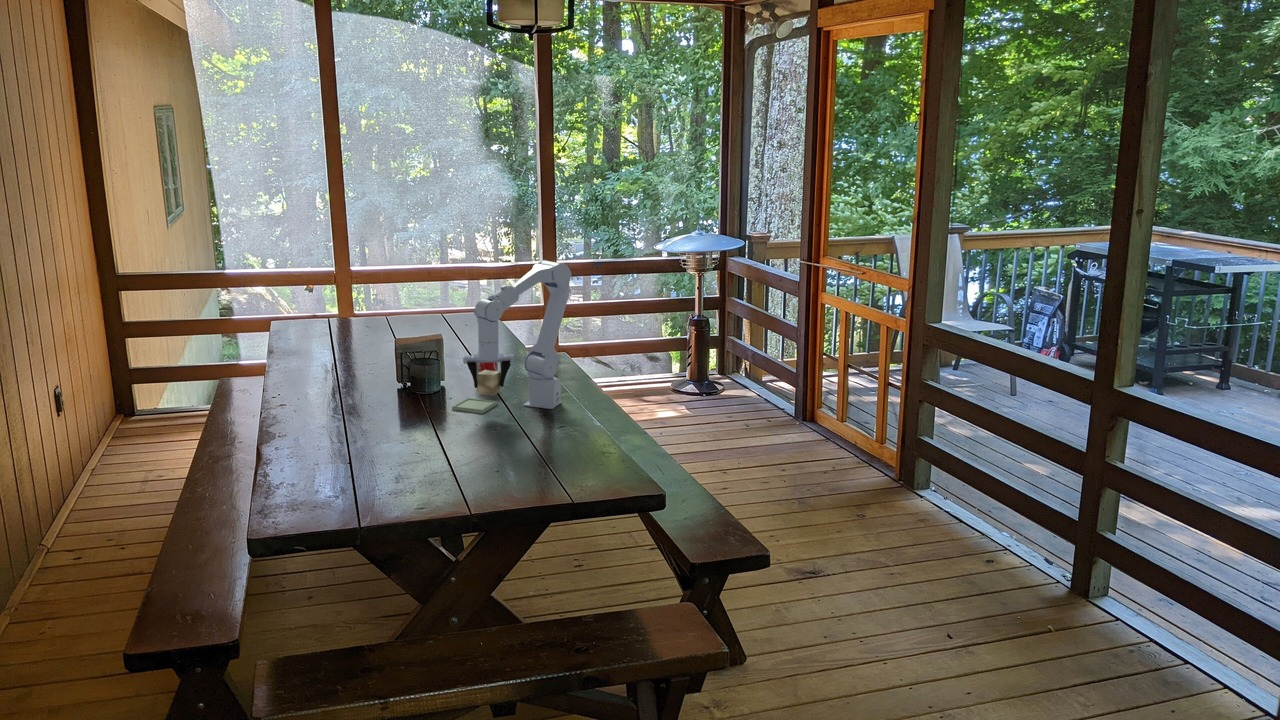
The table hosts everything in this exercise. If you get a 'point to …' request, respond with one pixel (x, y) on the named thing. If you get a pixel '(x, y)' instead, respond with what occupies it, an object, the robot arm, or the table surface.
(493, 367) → the soda can
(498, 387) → the maple block
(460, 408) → the tray
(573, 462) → the table surface
